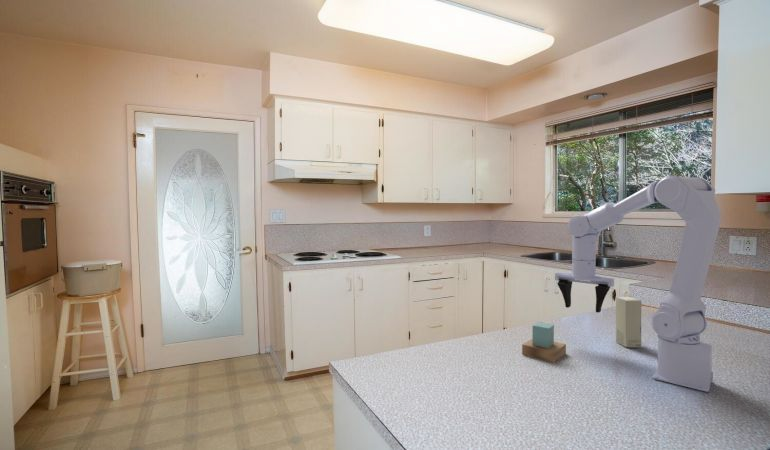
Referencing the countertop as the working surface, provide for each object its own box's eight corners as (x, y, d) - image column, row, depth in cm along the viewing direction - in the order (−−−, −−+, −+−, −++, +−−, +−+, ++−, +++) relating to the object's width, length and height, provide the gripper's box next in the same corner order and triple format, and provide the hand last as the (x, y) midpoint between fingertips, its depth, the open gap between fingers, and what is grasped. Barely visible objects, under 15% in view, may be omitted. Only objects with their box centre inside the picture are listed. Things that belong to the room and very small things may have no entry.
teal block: (553, 344, 99) (553, 324, 99) (548, 348, 96) (548, 328, 96) (537, 340, 102) (538, 322, 102) (532, 344, 99) (532, 325, 99)
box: (641, 348, 104) (643, 300, 103) (625, 348, 104) (626, 300, 103) (629, 341, 109) (630, 296, 109) (614, 341, 109) (615, 296, 109)
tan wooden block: (565, 355, 99) (565, 344, 99) (553, 364, 94) (554, 352, 94) (535, 348, 105) (535, 337, 105) (522, 356, 99) (522, 344, 99)
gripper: (617, 260, 103) (616, 311, 104) (561, 256, 113) (560, 302, 114) (610, 263, 98) (609, 316, 99) (552, 258, 108) (551, 306, 109)
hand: (582, 309), depth 106 cm, fingers open, 7 cm apart
